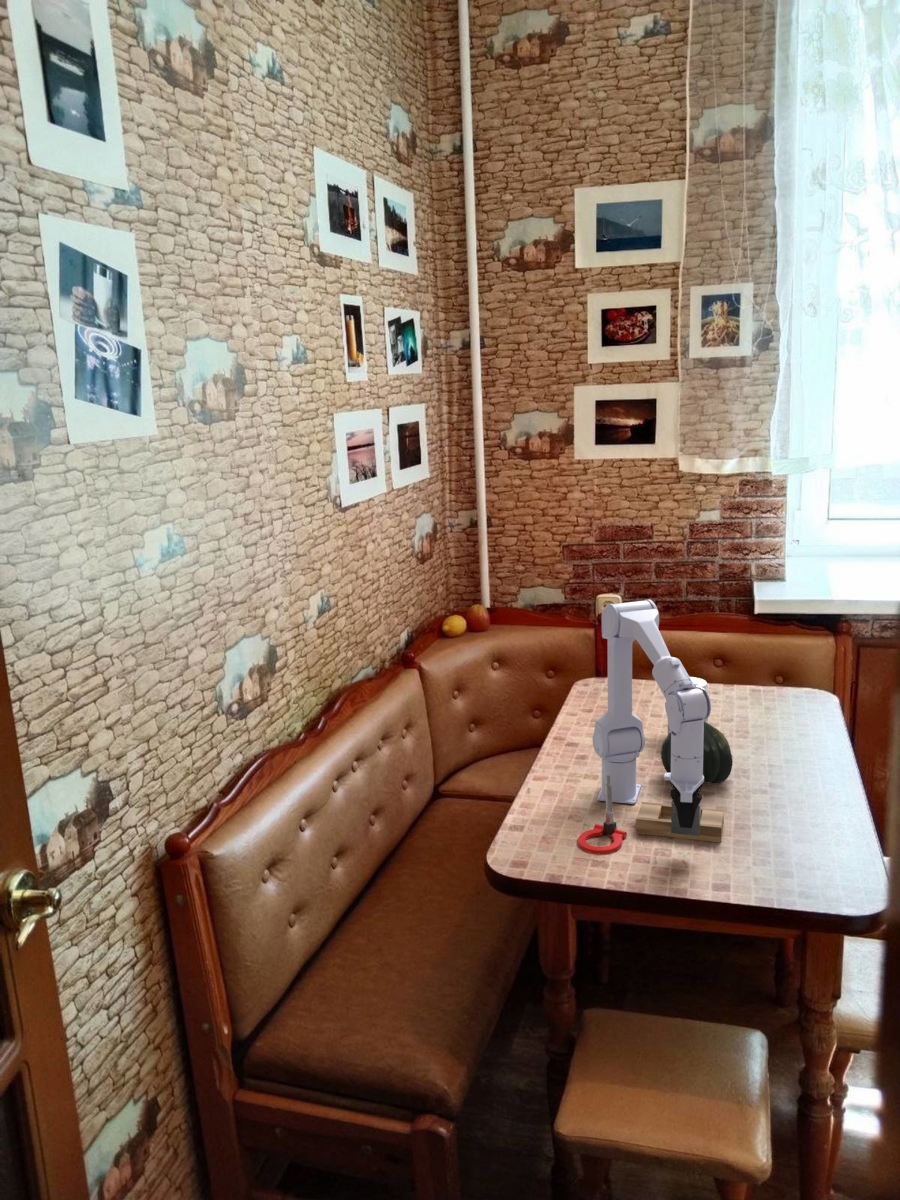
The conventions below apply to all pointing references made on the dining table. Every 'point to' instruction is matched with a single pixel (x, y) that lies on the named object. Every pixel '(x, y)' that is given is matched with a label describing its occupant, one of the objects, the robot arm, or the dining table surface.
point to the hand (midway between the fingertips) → (686, 822)
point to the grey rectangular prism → (686, 831)
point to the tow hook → (604, 828)
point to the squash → (707, 755)
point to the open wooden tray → (659, 822)
